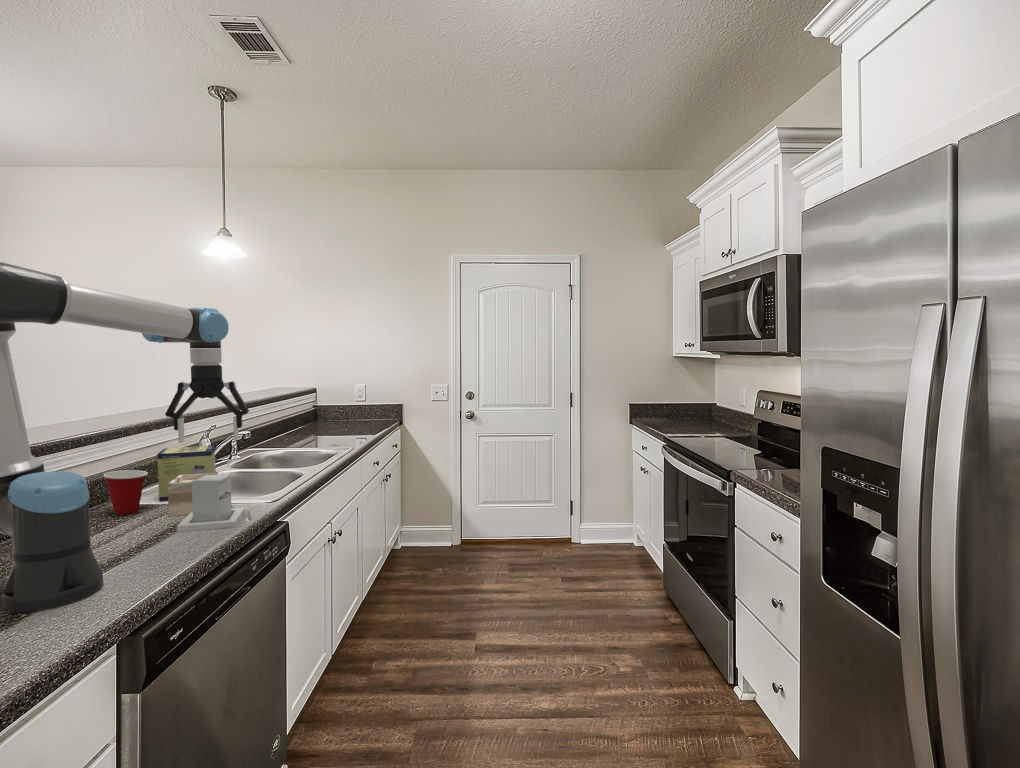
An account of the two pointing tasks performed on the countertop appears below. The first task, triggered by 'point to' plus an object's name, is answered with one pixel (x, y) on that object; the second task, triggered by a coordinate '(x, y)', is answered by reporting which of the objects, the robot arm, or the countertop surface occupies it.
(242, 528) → the countertop surface
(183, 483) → the tray
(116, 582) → the countertop surface
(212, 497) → the supplement box
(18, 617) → the countertop surface
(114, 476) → the plastic cup
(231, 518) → the white flat square frame
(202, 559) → the countertop surface
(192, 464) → the protein box
